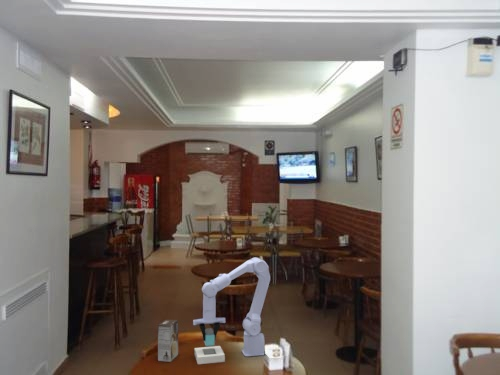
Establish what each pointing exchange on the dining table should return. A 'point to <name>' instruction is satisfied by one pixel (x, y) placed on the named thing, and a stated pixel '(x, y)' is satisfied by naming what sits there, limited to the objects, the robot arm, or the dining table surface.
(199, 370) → the dining table surface
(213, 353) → the block
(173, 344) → the coffee box
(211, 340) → the plug
